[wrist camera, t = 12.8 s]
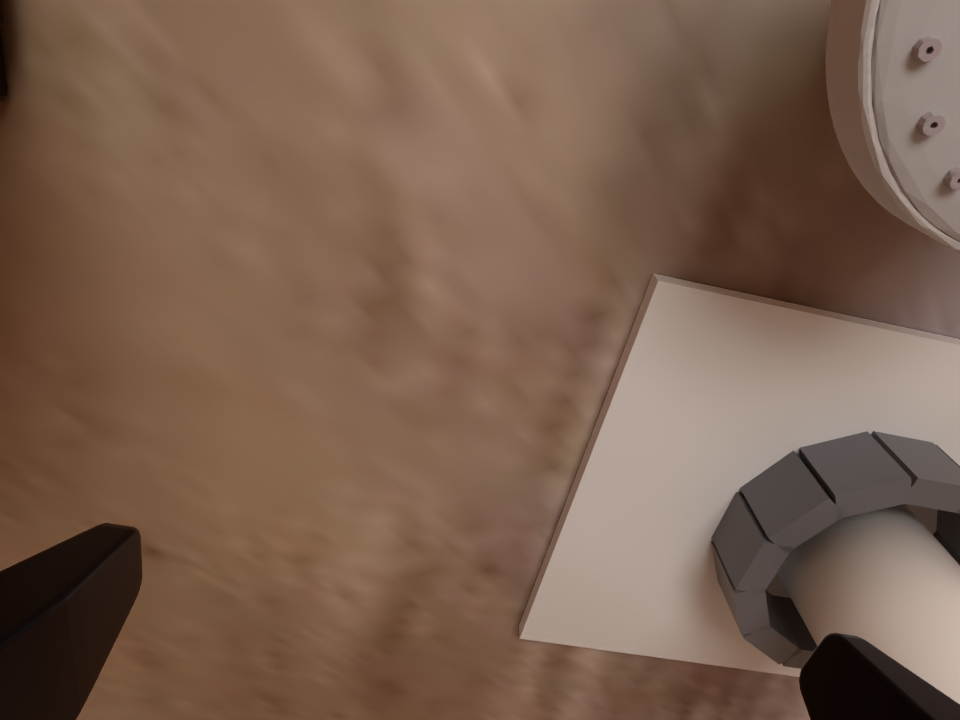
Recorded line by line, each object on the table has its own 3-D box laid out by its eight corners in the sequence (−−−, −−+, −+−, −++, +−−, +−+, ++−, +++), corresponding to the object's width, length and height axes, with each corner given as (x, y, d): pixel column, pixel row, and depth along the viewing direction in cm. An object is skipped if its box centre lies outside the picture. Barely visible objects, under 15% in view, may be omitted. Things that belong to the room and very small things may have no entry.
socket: (518, 625, 26) (523, 694, 24) (652, 273, 19) (682, 316, 16) (944, 685, 29) (992, 753, 26) (1215, 394, 21) (1320, 448, 18)
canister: (770, 596, 25) (995, 1029, 14) (756, 500, 22) (1014, 935, 12) (909, 565, 24) (1252, 996, 14) (909, 462, 22) (1328, 889, 11)
